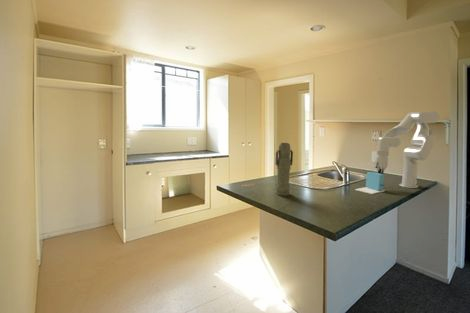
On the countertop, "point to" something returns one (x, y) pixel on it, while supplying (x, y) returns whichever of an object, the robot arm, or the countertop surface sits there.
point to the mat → (369, 190)
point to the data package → (375, 181)
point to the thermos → (283, 169)
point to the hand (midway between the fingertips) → (380, 177)
